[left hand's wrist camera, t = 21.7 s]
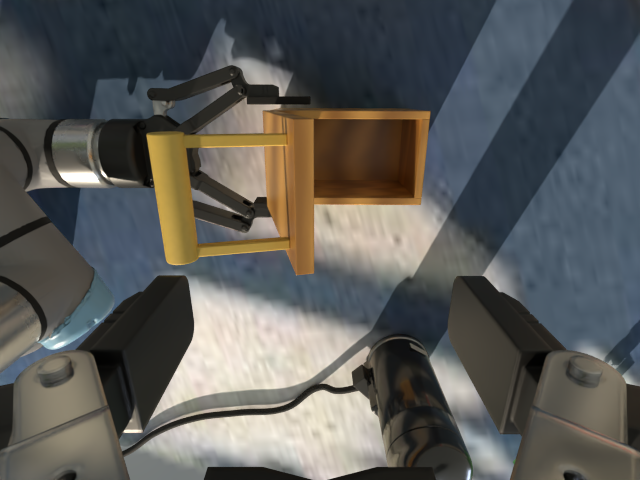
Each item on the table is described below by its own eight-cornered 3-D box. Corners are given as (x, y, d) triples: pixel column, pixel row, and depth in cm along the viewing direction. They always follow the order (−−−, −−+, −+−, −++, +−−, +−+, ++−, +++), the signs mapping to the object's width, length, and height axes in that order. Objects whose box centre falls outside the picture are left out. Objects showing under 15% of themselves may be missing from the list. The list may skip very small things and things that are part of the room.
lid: (313, 118, 21) (134, 120, 18) (314, 273, 24) (162, 289, 22) (274, 110, 36) (174, 110, 34) (278, 205, 39) (187, 211, 37)
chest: (408, 108, 46) (430, 111, 36) (401, 185, 49) (420, 205, 40) (279, 108, 46) (269, 110, 36) (282, 184, 49) (273, 204, 40)
